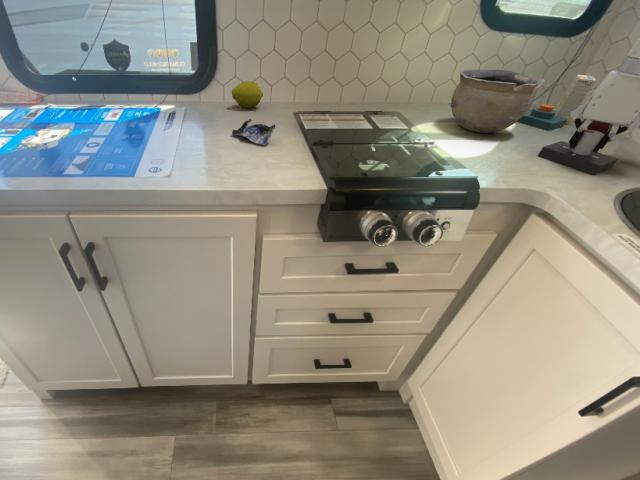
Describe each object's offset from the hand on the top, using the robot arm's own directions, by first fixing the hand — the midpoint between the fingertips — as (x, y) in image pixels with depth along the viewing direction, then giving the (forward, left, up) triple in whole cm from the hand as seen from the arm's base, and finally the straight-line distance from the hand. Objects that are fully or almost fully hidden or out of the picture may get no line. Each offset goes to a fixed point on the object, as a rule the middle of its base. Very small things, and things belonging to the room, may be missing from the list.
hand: (583, 148), depth 92 cm
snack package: (+53, +71, -4) cm, 89 cm away
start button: (+23, -26, 0) cm, 35 cm away
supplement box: (+21, -37, -4) cm, 43 cm away
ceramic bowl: (+29, 0, -4) cm, 29 cm away
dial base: (0, 0, -4) cm, 4 cm away
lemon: (+79, +57, -4) cm, 98 cm away
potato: (+7, -30, -4) cm, 31 cm away
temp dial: (0, 0, -1) cm, 1 cm away
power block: (+23, -26, -4) cm, 35 cm away
